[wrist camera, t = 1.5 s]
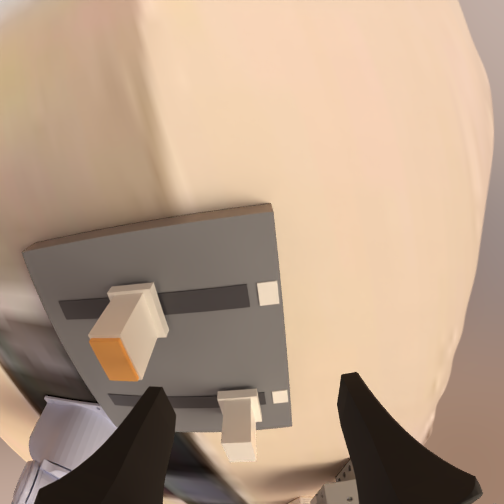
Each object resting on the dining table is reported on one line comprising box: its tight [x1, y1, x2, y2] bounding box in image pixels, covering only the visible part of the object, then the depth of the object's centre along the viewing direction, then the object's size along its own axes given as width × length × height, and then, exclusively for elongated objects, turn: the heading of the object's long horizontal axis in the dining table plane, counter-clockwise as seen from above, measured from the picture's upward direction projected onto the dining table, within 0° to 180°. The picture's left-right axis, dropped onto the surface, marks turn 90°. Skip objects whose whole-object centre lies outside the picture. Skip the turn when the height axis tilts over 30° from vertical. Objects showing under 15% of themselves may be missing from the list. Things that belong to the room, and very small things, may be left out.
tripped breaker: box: [88, 282, 169, 382], centre depth 16 cm, size 3×4×5 cm
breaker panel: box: [22, 203, 292, 432], centre depth 21 cm, size 18×20×2 cm
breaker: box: [217, 388, 262, 462], centre depth 20 cm, size 3×4×5 cm
